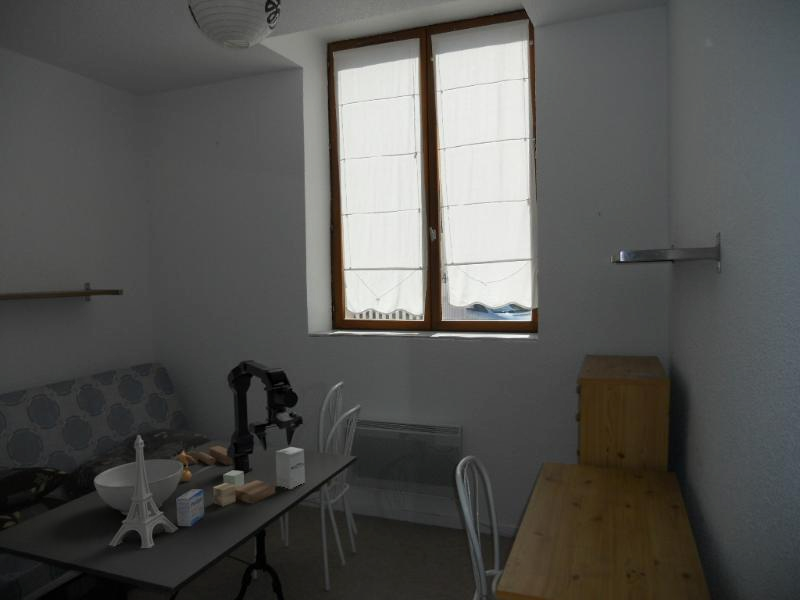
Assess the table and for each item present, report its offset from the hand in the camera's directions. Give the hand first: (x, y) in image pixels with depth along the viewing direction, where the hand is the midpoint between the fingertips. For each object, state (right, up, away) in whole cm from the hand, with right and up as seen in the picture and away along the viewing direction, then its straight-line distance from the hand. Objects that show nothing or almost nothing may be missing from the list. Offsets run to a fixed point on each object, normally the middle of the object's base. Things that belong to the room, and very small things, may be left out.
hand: (277, 447), depth 201 cm
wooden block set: (-35, -15, +31) cm, 49 cm away
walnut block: (-6, -15, -7) cm, 18 cm away
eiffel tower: (-31, -17, -36) cm, 50 cm away
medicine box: (-21, -16, -26) cm, 37 cm away
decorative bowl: (-42, -17, -13) cm, 47 cm away
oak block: (-15, -15, -11) cm, 24 cm away
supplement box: (+5, -14, +3) cm, 15 cm away
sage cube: (-16, -15, +3) cm, 22 cm away
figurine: (-36, -16, +10) cm, 41 cm away
